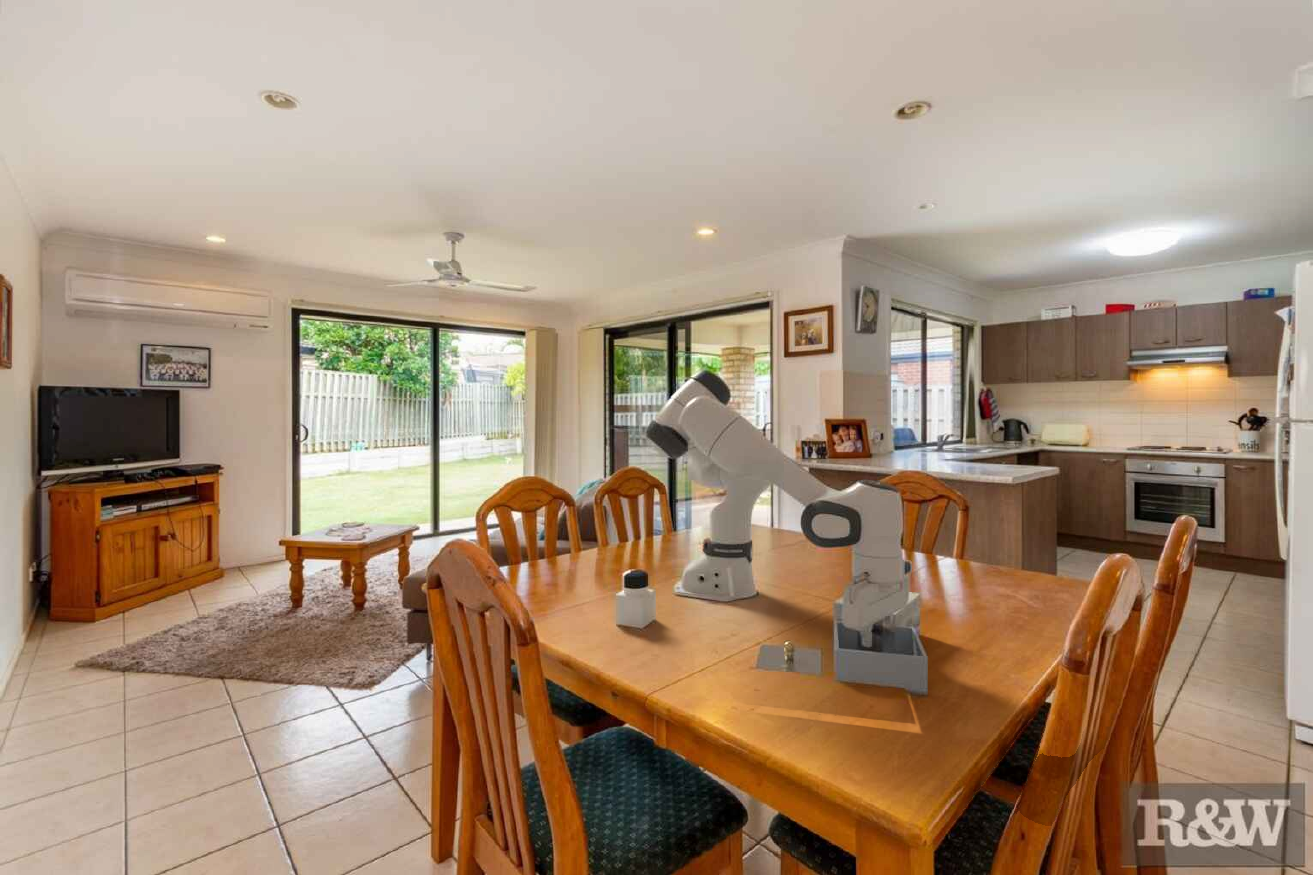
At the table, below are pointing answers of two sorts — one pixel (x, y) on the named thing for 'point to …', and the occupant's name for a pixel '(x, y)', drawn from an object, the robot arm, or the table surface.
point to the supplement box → (903, 617)
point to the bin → (882, 661)
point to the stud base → (796, 666)
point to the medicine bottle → (635, 600)
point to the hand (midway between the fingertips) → (876, 641)
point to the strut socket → (879, 639)
